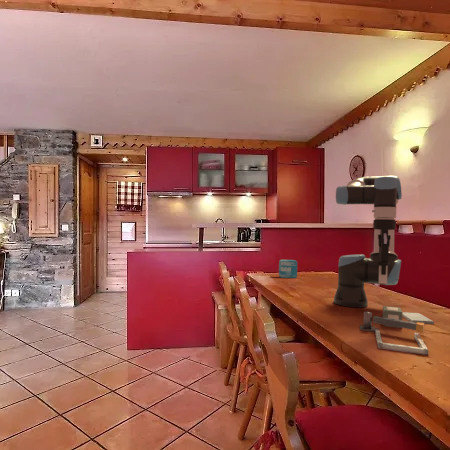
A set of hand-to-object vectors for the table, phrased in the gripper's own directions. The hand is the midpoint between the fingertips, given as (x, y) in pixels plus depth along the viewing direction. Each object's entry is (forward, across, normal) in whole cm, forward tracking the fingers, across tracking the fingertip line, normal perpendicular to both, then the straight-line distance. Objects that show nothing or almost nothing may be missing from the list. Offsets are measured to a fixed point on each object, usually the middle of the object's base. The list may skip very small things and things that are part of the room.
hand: (382, 282), depth 125 cm
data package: (+17, -98, -52) cm, 112 cm away
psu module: (+17, -6, +4) cm, 18 cm away
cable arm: (+14, +7, +4) cm, 16 cm away
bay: (+16, +16, +4) cm, 23 cm away
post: (+16, +4, -5) cm, 18 cm away
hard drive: (+17, -18, +14) cm, 29 cm away
